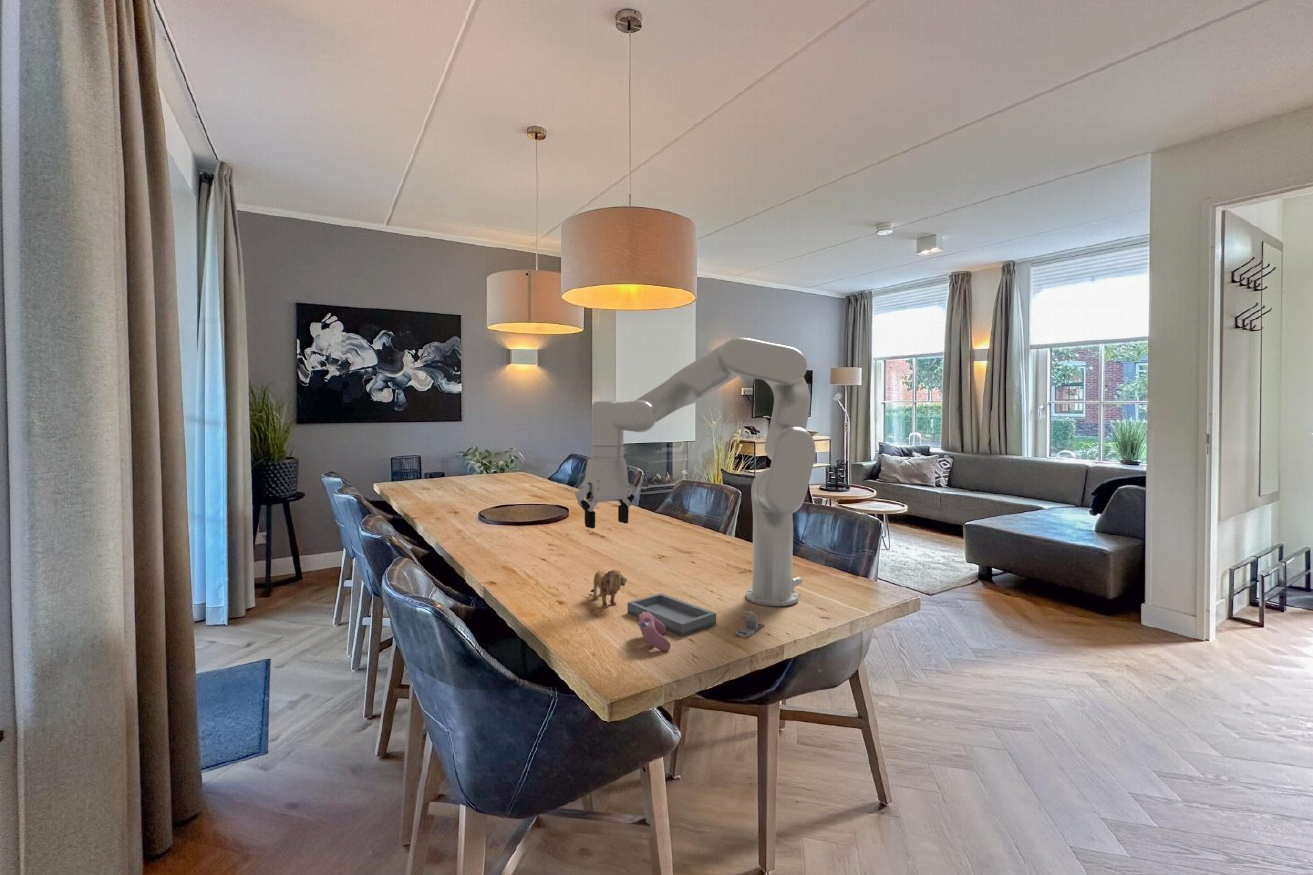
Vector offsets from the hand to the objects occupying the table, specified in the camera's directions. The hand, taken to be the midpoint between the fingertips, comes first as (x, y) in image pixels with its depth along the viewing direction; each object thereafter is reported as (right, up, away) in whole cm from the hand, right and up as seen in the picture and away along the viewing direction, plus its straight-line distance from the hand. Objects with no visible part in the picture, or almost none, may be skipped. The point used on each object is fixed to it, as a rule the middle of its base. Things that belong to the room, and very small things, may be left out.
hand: (607, 525), depth 140 cm
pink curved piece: (+11, -20, -23) cm, 33 cm away
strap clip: (+31, -20, -17) cm, 41 cm away
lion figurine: (0, -19, +1) cm, 19 cm away
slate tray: (+15, -19, -10) cm, 26 cm away
